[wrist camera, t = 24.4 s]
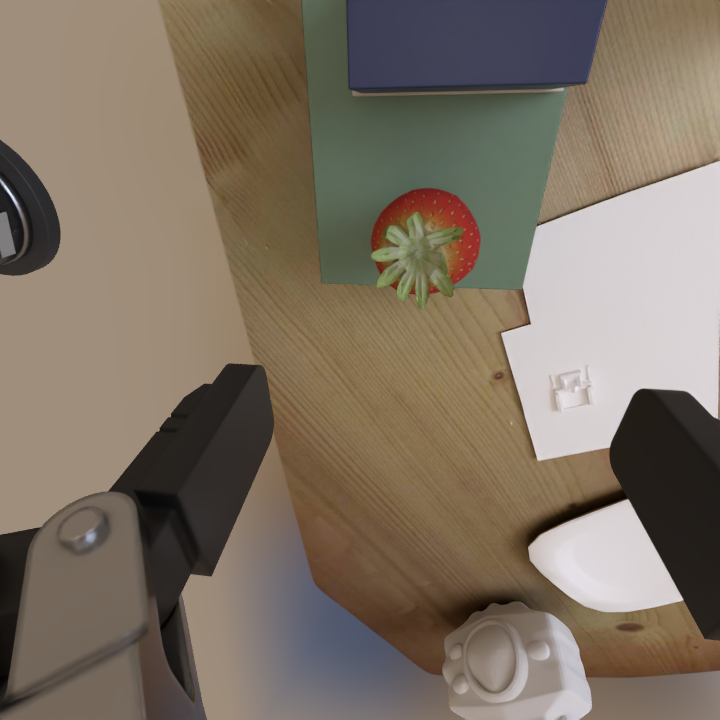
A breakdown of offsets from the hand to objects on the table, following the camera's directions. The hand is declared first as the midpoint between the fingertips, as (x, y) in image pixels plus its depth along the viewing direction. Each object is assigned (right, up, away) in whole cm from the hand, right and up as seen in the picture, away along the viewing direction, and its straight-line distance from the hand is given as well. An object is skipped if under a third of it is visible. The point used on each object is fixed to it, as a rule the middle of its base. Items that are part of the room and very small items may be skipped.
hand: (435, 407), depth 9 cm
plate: (+32, -22, +39) cm, 54 cm away
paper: (+19, +2, +25) cm, 31 cm away
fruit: (+2, +9, +14) cm, 17 cm away
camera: (+19, -36, +50) cm, 64 cm away
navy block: (+3, +16, +10) cm, 19 cm away
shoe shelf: (+3, +17, +17) cm, 25 cm away
